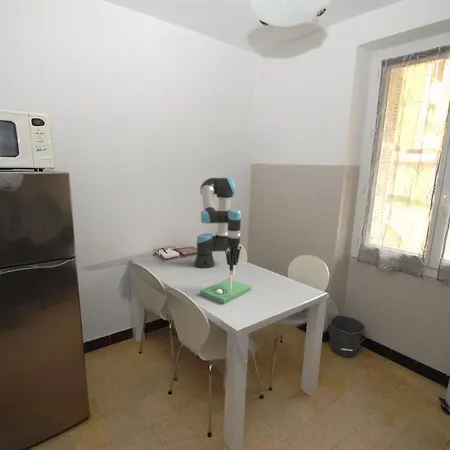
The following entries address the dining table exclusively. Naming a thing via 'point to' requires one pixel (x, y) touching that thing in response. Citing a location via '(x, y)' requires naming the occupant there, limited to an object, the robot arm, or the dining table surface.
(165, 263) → the dining table surface
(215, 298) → the mini golf green
